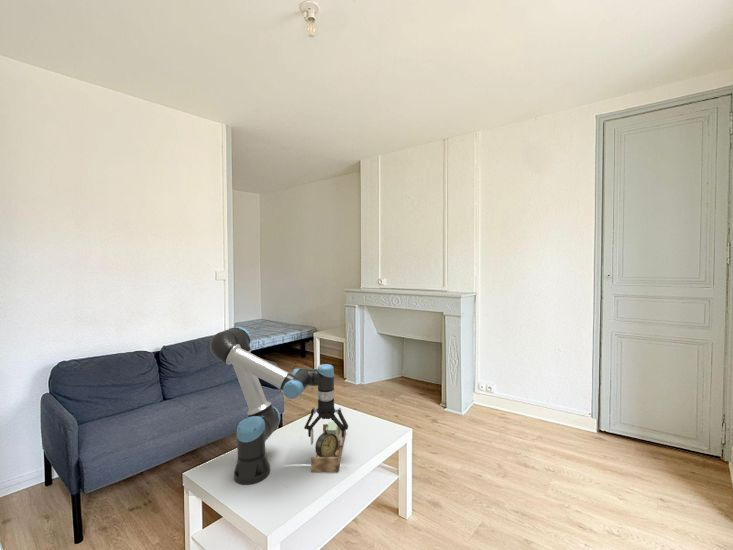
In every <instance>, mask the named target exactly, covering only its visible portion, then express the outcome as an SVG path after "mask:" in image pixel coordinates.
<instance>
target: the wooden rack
mask: <svg viewBox="0 0 733 550" xmlns="http://www.w3.org/2000/svg"><path fill="white" fill-rule="evenodd" d="M326 424H327V425H328V423H323V424H322V428H323V427H324V431H325V430H326V428H327V425H326ZM324 425H325V426H324ZM342 425H343V423H342ZM343 426H344V425H343ZM324 431H323V430H322V432H323V433H325V432H324ZM323 433H322V434H323ZM346 434H347V430H344V437H342V445H340V428H339V427H338V448H337V451H336V453H335V454H336V455H333V456H332V457H319V456H318V455H317V453H316V455H315V456H311V459H310V465H311V469H310V470H311V473H339V472H340V466H341V459H342V453H343V450H344V444H345V441H346Z"/></svg>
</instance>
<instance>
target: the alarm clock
mask: <svg viewBox="0 0 733 550" xmlns="http://www.w3.org/2000/svg"><path fill="white" fill-rule="evenodd" d="M325 424H326V425H327V424H328V423H325ZM324 426H325V425H324ZM327 426H328V425H327ZM327 430H328V428H327ZM327 430H325V431H324V427H323V426H322V432H323V431H324V432H325V433H321V434H319V436H318V438H317V439H316V442H315V447H314V448H315V453H316V454H317V455H318V456H319V457H332V456H333V455H336V454H335V453H336V451H337V448H338V439H337V437H336V435H334V434H332V433H329V432H327Z"/></svg>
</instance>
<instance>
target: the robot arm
mask: <svg viewBox="0 0 733 550" xmlns="http://www.w3.org/2000/svg"><path fill="white" fill-rule="evenodd" d="M251 342H252V336H251V334H250V332H249V330H247V329H246V328H244V327H241V326H235V327H230V328H228V329H225V330H223V331H220V332H216V334H214V335H213V336H212V338H211V340H210V342H209V348H210V349H209V350H210V353H211V354H212V355H213V357H215V359H217V360H219V361H220V362H222V363H224V364H225V365H227V366H229V365H232V367H233V369H234V372H235V375H236V378H237V381H238V382H239V386H240V389H241V391H242V394H243V396H244V399H245V402H246V404H247V407H248V411H247V418H244V419H242V420H241V421H240V422H239V423H238V425H237V426H236V427H237V428H236V444H237V445H236V447H237V462H236V464H235V469H234V471H233V479H234V481H235V483H237V482H238V484H241V485H253V484H257V483H259V482H261V481H263V480H265V479H266V478H267V477H268V476H269V475H270V474H271V473H270V472H271V464H270V462H269V460H268V456H267V454H266V441H267V440H268V439H269V438H270V436H272V434H273V433H274V432H275V431H276V430H277V428H278V427H279V425H280V423H281V413H280V411H279V410H278V408H277V407H275V406H273V404H272V402H271V401H268V400H267V397H266V395H265V392H264V390H263V387H262V384H261V382H260V379H261V380H262V381H264V382H266V383H269V384H271V386H274V387H276V388H277V389H279V390H281V391H282V392H283V395H284V396H285V397H286V398H287V399H290V400H294V399H296V398H299V396H300V395H302V393H304V391H305V390H306V389H307V388H308V387H317V408H315V407H312V408H311V410H310V415H309V417H308V419H307V421H306V423H305V425H304V428H303V429H304V430H307V431H308V433H307V435H308V437H309V438H310V445H311V446H312V445H313V444H314V427H315V426H316V424H317V423H319V421H320V420H321V419H323V420H331V421H332V422H335V423H336V425H337V426H338V427H339V428H340V445H342V437H344V430H346V431H347V430H349V423H348V422H347V420H346V419H345V417H344V414H343V412H342V408H341V407H338V408H335V371H334V366H333V365H332V364H329V363H323V364H319V365H318V366H317V368H303V367H300V368H294V369H293V370H292V372H291V373H290V372H289V371H286V370H285V369H282V368H280V367H279V366H276V365H274V364H273V363H271V362H269V361H267V360H265V359H263V358H261V357H259V356H257V355H255V354H253V353H251V352H252V348H251V346H250V344H251ZM316 413H317V414H318V415H317V417H316V418H315V419H314V420H313V421H312V418H313V417H314V415H315V414H316ZM335 413H336V414H337V415H338V418H339V419H338V418H337V416H336V414H335ZM311 421H312V423H311V424H310V422H311ZM309 424H310V425H309ZM342 424H343V425H344V426H343V425H342Z"/></svg>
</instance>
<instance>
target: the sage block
mask: <svg viewBox="0 0 733 550" xmlns="http://www.w3.org/2000/svg"><path fill="white" fill-rule="evenodd" d="M327 424H328V426H327V428H328V430H327V428H326V430H327V432H329V433H332V434H334V435H336V437H337V439H338V426H337V425H336V423H335V422H334V421H328V423H327Z"/></svg>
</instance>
